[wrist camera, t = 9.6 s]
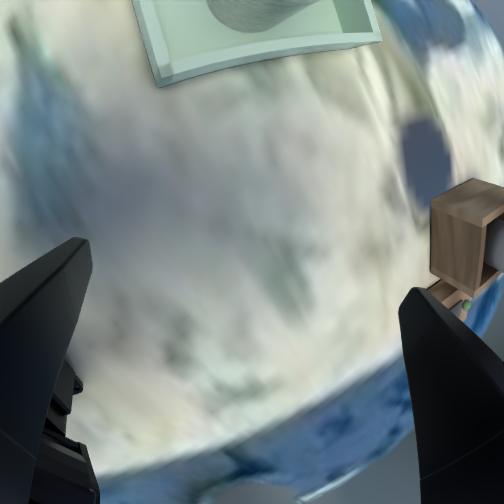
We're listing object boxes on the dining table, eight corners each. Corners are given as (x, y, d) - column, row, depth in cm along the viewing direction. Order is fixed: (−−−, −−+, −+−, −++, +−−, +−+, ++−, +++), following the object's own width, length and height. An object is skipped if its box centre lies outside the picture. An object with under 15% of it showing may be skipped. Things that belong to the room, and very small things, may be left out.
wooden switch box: (407, 341, 32) (427, 358, 29) (410, 301, 29) (433, 317, 26) (452, 309, 34) (471, 322, 31) (456, 269, 31) (478, 281, 28)
